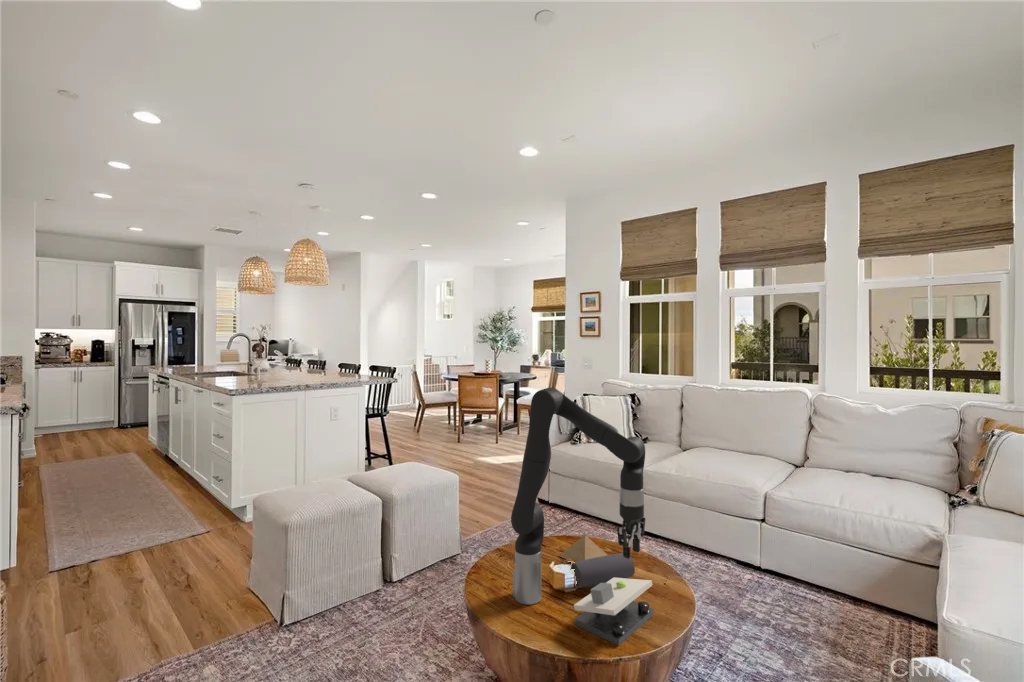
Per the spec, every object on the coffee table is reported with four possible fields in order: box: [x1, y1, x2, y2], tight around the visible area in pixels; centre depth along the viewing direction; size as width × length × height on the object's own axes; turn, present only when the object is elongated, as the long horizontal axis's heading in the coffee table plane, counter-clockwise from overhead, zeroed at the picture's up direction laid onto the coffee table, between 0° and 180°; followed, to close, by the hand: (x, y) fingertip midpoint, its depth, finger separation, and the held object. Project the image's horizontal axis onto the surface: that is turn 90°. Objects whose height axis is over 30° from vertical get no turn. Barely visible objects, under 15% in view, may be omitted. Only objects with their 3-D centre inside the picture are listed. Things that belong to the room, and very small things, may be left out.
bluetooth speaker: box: [570, 552, 636, 589], centre depth 186 cm, size 23×9×10 cm, turn 111°
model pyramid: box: [557, 534, 608, 562], centre depth 208 cm, size 17×17×10 cm
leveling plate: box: [573, 577, 654, 616], centre depth 164 cm, size 15×24×7 cm, turn 137°
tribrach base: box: [574, 600, 655, 647], centre depth 163 cm, size 16×22×6 cm
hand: (631, 554), depth 159 cm, fingers open, 5 cm apart
